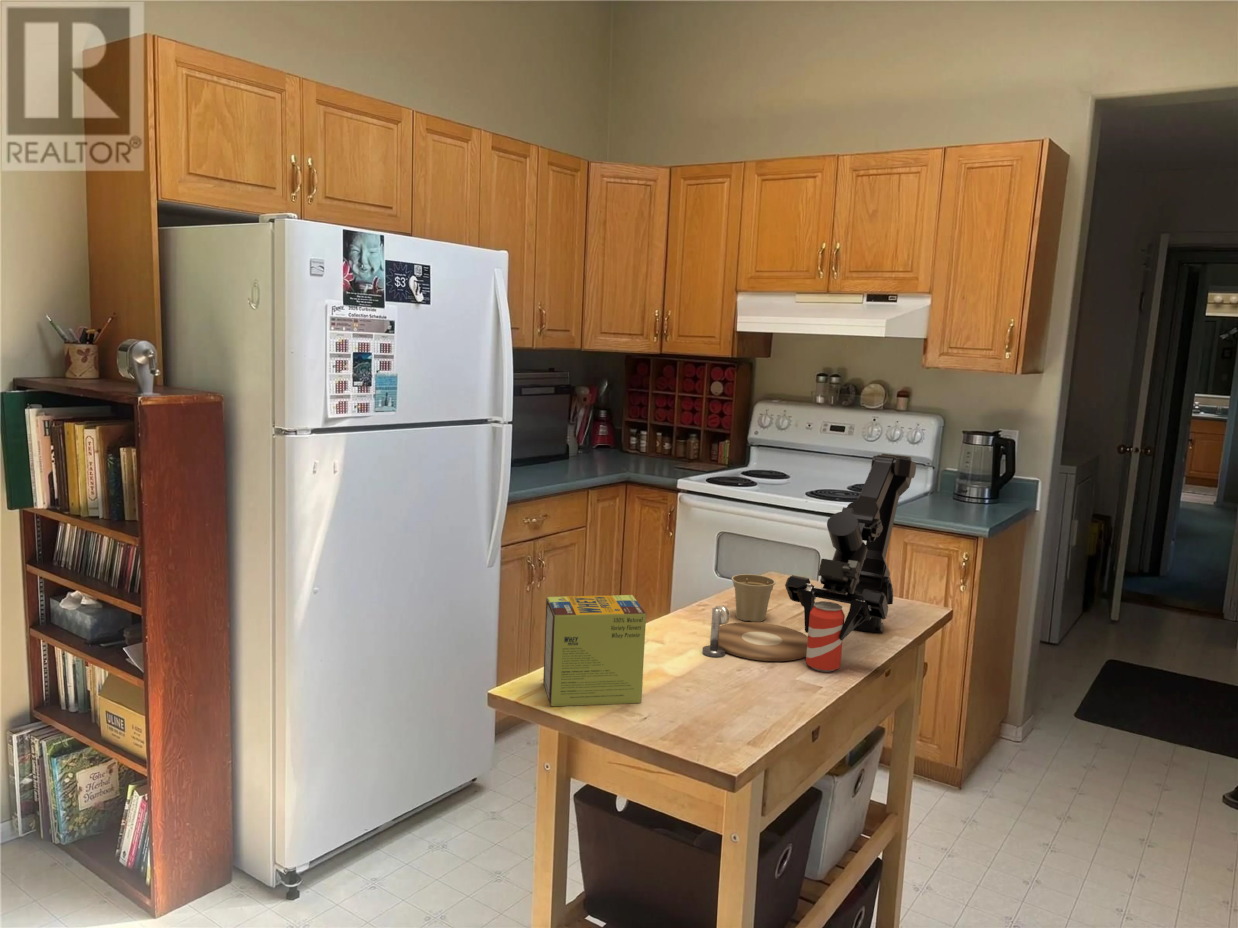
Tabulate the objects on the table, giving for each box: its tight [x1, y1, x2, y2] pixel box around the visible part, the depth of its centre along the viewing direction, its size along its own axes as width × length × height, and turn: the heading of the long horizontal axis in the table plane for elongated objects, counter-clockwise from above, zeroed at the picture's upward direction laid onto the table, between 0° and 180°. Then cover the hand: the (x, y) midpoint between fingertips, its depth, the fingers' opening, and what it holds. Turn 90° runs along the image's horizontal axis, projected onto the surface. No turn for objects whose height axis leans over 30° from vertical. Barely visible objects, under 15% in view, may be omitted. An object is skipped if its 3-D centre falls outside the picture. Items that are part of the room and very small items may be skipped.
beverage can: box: [805, 600, 846, 673], centre depth 168 cm, size 6×6×12 cm
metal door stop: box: [701, 605, 730, 658], centre depth 173 cm, size 4×4×9 cm
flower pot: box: [731, 573, 777, 623], centre depth 196 cm, size 9×9×9 cm
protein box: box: [542, 594, 647, 707], centre depth 151 cm, size 10×15×16 cm
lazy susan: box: [718, 621, 808, 662], centre depth 180 cm, size 20×20×1 cm
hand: (823, 635), depth 167 cm, fingers closed on beverage can, 6 cm apart
